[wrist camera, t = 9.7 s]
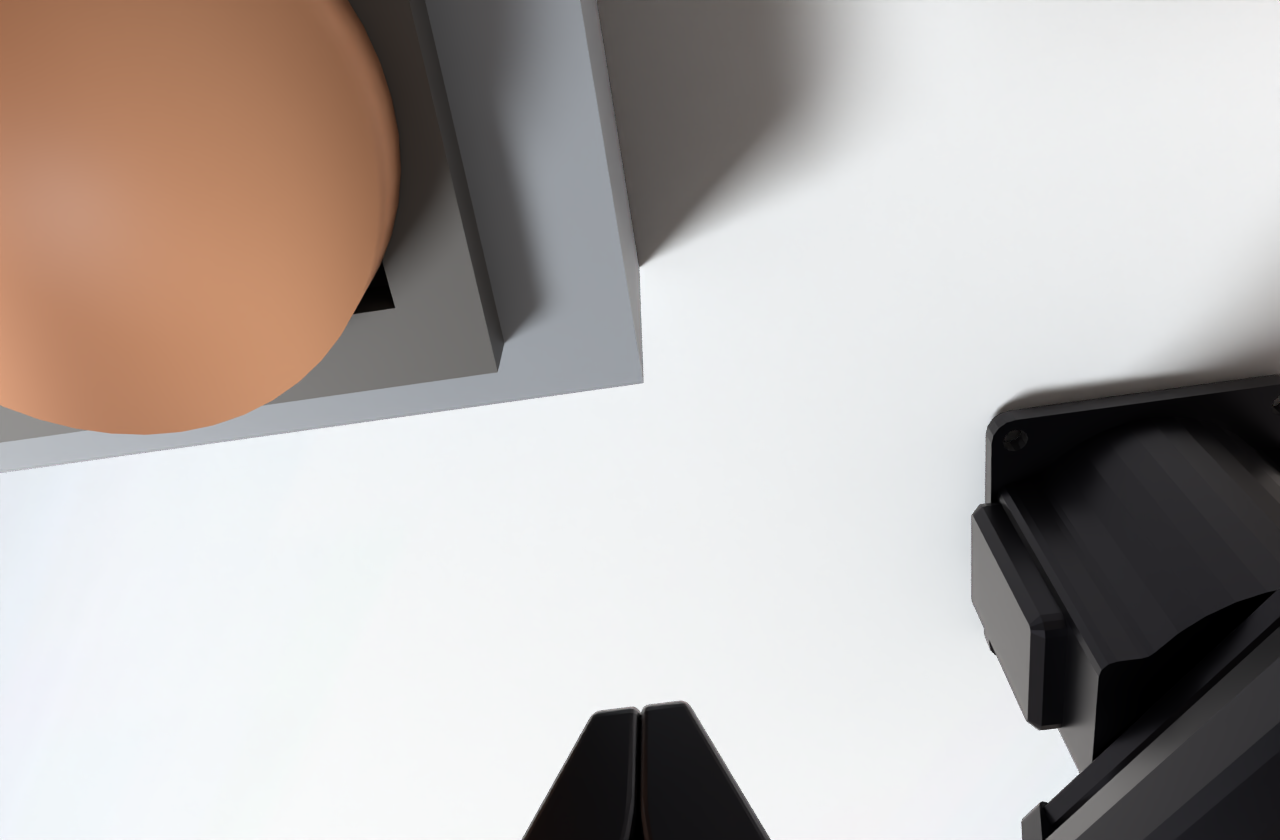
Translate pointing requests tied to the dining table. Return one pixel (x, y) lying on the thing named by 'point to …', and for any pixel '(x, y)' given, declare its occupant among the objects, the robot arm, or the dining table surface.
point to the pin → (184, 203)
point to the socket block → (462, 236)
